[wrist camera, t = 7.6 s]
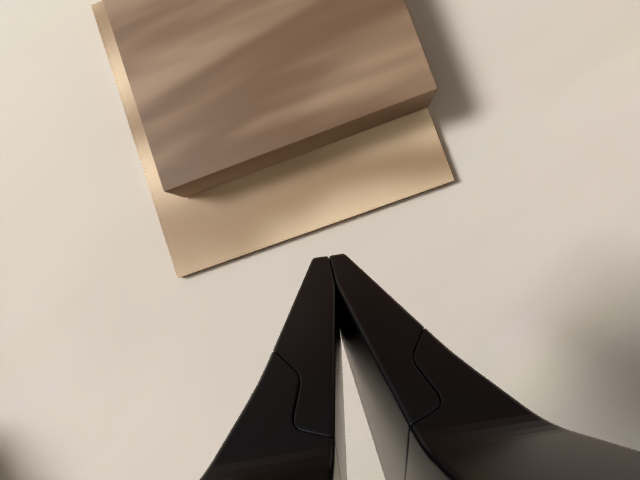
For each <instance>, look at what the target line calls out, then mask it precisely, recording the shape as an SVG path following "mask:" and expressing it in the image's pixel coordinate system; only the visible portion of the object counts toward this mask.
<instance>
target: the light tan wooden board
mask: <svg viewBox="0 0 640 480" xmlns="http://www.w3.org/2000/svg"><path fill="white" fill-rule="evenodd" d="M91 6H92V9H93V12H94V16H95V19H96V22H97V25H98V28H99V31H100V34H101V38H102V41H103V44H104V47H105V50H106V53H107V57H108V60H109V63H110V66H111V69H112V72H113V75H114V79H115V82H116V85H117V88H118V91H119V94H120V98H121V101H122V104H123V107H124V110H125V113H126V117H127V120H128V123H129V126H130V129H131V132H132V135H133V139H134V142H135V145H136V148H137V151H138V154H139V158H140V161H141V164H142V167H143V170H144V173H145V176H146V180H147V183H148V186H149V189H150V192H151V195H152V199H153V202H154V205H155V208H156V211H157V214H158V217H159V221H160V224H161V227H162V230H163V233H164V236H165V240H166V243H167V246H168V249H169V252H170V255H171V259H172V262H173V265H174V268H175V271H176V274H177V277H178V278H181V277H184V276H187V275H189V274H192V273H195V272H198V271H201V270H204V269H206V268H209V267H212V266H215V265H218V264H221V263H223V262H226V261H229V260H232V259H235V258H237V257H240V256H243V255H246V254H249V253H252V252H254V251H257V250H260V249H263V248H266V247H269V246H271V245H274V244H277V243H280V242H283V241H286V240H288V239H291V238H294V237H297V236H300V235H303V234H305V233H308V232H311V231H314V230H317V229H320V228H322V227H325V226H328V225H331V224H334V223H337V222H339V221H342V220H345V219H348V218H351V217H353V216H356V215H359V214H362V213H365V212H368V211H370V210H373V209H376V208H379V207H382V206H385V205H387V204H390V203H393V202H396V201H399V200H402V199H404V198H407V197H410V196H413V195H416V194H419V193H421V192H424V191H427V190H430V189H433V188H436V187H438V186H441V185H444V184H447V183H450V182H453V181H454V178H453V175H452V172H451V169H450V167H449V164H448V161H447V159H446V156H445V153H444V151H443V148H442V145H441V143H440V140H439V137H438V135H437V132H436V129H435V127H434V124H433V121H432V118H431V116H430V113H429V110H428V108H425V109H422V110H419V111H417V112H414V113H411V114H409V115H406V116H403V117H401V118H398V119H395V120H393V121H390V122H387V123H385V124H382V125H379V126H376V127H374V128H371V129H368V130H366V131H363V132H360V133H358V134H355V135H352V136H350V137H347V138H344V139H342V140H339V141H336V142H334V143H331V144H328V145H326V146H323V147H320V148H318V149H315V150H312V151H310V152H307V153H304V154H302V155H299V156H296V157H294V158H291V159H288V160H285V161H283V162H280V163H277V164H275V165H272V166H269V167H267V168H264V169H261V170H259V171H256V172H253V173H251V174H248V175H245V176H243V177H240V178H237V179H235V180H232V181H229V182H227V183H224V184H221V185H219V186H216V187H213V188H211V189H208V190H205V191H202V192H200V193H197V194H194V195H192V196H189V197H186V198H183V197H180V196H177V195H174V194H171V193H167V192H164V190H163V187H162V184H161V181H160V178H159V175H158V171H157V168H156V165H155V162H154V159H153V156H152V153H151V150H150V146H149V143H148V140H147V137H146V134H145V131H144V128H143V124H142V121H141V118H140V115H139V112H138V109H137V106H136V103H135V99H134V96H133V93H132V90H131V87H130V84H129V81H128V78H127V74H126V71H125V68H124V65H123V62H122V59H121V56H120V52H119V49H118V46H117V43H116V40H115V37H114V34H113V31H112V27H111V24H110V21H109V18H108V15H107V12H106V9H105V6H104V2H103V1H100V2H98V3H96V4H93V5H91Z"/></svg>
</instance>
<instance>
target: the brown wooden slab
mask: <svg viewBox="0 0 640 480" xmlns="http://www.w3.org/2000/svg"><path fill="white" fill-rule="evenodd" d="M103 2H104V6H105V9H106V12H107V15H108V18H109V21H110V24H111V27H112V31H113V34H114V37H115V40H116V43H117V46H118V49H119V52H120V56H121V59H122V62H123V65H124V68H125V71H126V74H127V78H128V81H129V84H130V87H131V90H132V93H133V96H134V99H135V103H136V106H137V109H138V112H139V115H140V118H141V121H142V124H143V128H144V131H145V134H146V137H147V140H148V143H149V146H150V150H151V153H152V156H153V159H154V162H155V165H156V168H157V171H158V175H159V178H160V181H161V184H162V187H163V190H164V192H167V193H171V194H174V195H177V196H180V197H183V198H186V197H189V196H192V195H194V194H197V193H200V192H202V191H205V190H208V189H211V188H213V187H216V186H219V185H221V184H224V183H227V182H229V181H232V180H235V179H237V178H240V177H243V176H245V175H248V174H251V173H253V172H256V171H259V170H261V169H264V168H267V167H269V166H272V165H275V164H277V163H280V162H283V161H285V160H288V159H291V158H294V157H296V156H299V155H302V154H304V153H307V152H310V151H312V150H315V149H318V148H320V147H323V146H326V145H328V144H331V143H334V142H336V141H339V140H342V139H344V138H347V137H350V136H352V135H355V134H358V133H360V132H363V131H366V130H368V129H371V128H374V127H376V126H379V125H382V124H385V123H387V122H390V121H393V120H395V119H398V118H401V117H403V116H406V115H409V114H411V113H414V112H417V111H419V110H422V109H425V108H427V107H428V106H429V104H430V102H431V100H432V98H433V96H434V94H435V92H436V90H437V86H436V83H435V81H434V78H433V75H432V73H431V70H430V67H429V65H428V62H427V59H426V57H425V54H424V51H423V49H422V46H421V43H420V41H419V38H418V35H417V33H416V30H415V27H414V25H413V22H412V19H411V17H410V14H409V11H408V9H407V6H406V3H405V1H404V0H103Z"/></svg>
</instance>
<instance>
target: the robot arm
mask: <svg viewBox="0 0 640 480" xmlns="http://www.w3.org/2000/svg"><path fill="white" fill-rule="evenodd" d="M340 333H341V336H340ZM341 338H342V342H343V345H344V348H345V352H346V355H347V358H348V361H349V364H350V368H351V371H352V374H353V377H354V380H355V384H356V387H357V390H358V393H359V396H360V399H361V403H362V406H363V409H364V412H365V415H366V419H367V422H368V425H369V428H370V431H371V435H372V438H373V441H374V444H375V447H376V450H377V454H378V457H379V460H380V463H381V466H382V470H383V473H384V476H385V479H386V480H640V451H637V450H633V449H630V448H627V447H623V446H620V445H617V444H613V443H610V442H606V441H603V440H600V439H596V438H593V437H590V436H586V435H583V434H580V433H576V432H573V431H570V430H567V429H564V428H561V427H559V426H557V425H554V424H553V423H551V422H549V421H547V420H545V419H543V418H541V417H540V416H538V415H536V414H535V413H533V412H532V411H530V410H529V409H527V408H526V407H525V406H523V405H522V404H521V403H519V402H518V401H516V400H515V399H514V398H512V397H511V396H510V395H508V394H507V393H506V392H504V391H503V390H502V389H500V388H499V387H498V386H496V385H495V384H493V383H492V382H491V381H489V380H488V379H487V378H485V377H484V376H483V375H481V374H480V373H479V372H477V371H476V370H475V369H473V368H472V367H471V366H469V365H468V364H467V363H465V362H464V361H463V360H462V359H460V358H459V357H458V356H456V355H455V354H454V353H453V352H452V351H450V350H449V349H448V348H447V347H446V346H445V345H443V344H442V343H441V342H440V341H439V340H438V339H437V338H435V337H434V336H433V335H432V334H431V333H430V332H429V331H428V330H427V329H424V327H423V326H422V325H421V324H420V323H419V322H418V321H417V320H416V319H415V318H414V317H413V316H411V315H410V314H409V313H408V312H407V311H406V310H405V309H404V308H403V307H402V306H401V305H400V304H398V303H397V302H396V301H395V300H394V299H393V298H392V297H391V296H390V295H389V294H388V293H386V292H385V291H384V290H383V289H382V288H381V287H380V286H379V285H378V284H377V283H376V282H375V281H373V280H372V279H371V278H370V277H369V276H368V275H367V274H366V273H365V272H364V271H363V270H362V269H360V268H359V267H358V266H357V265H356V264H355V263H354V262H353V261H352V260H351V259H350V258H348V257H347V256H346V255H345V254H339V255H332V256H330V257H329V258H328V257H327V256H325V257H318V258H314V259H313V260H312V262H311V264H310V266H309V269H308V271H307V273H306V276H305V278H304V280H303V283H302V285H301V287H300V289H299V292H298V294H297V296H296V299H295V301H294V303H293V306H292V308H291V310H290V313H289V315H288V317H287V320H286V322H285V324H284V326H283V329H282V331H281V333H280V336H279V338H278V340H277V343H276V345H275V347H274V350H273V351H274V352H272V354H271V356H270V359H269V361H268V363H267V365H266V368H265V370H264V372H263V374H262V376H261V378H260V380H259V382H258V384H257V386H256V388H255V390H254V392H253V393H252V395H251V397H250V399H249V401H248V402H247V404H246V406H245V408H244V409H243V411H242V413H241V414H240V416H239V418H238V419H237V421H236V423H235V424H234V426H233V428H232V429H231V431H230V433H229V434H228V436H227V438H226V440H225V441H224V443H223V445H222V446H221V448H220V450H219V451H218V453H217V455H216V456H215V458H214V460H213V461H212V463H211V464H210V466H209V468H208V469H207V470H206V472H205V473H204V475H203V476H202V477H201V478H200V480H347V469H346V445H345V421H344V398H343V374H342V351H341Z"/></svg>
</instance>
